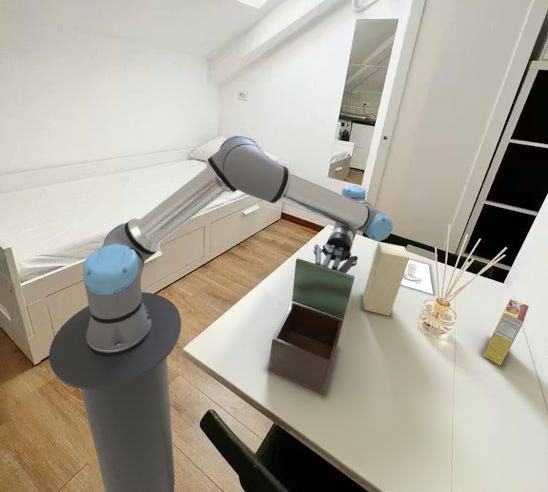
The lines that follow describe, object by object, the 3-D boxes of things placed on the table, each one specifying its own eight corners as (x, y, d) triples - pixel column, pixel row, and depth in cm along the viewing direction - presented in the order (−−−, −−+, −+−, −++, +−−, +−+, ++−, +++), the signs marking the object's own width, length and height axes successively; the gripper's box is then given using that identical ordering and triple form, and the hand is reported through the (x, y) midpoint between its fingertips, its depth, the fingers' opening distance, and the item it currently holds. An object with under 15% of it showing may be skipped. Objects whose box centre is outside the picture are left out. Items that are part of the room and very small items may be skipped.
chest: (324, 395, 64) (332, 364, 60) (268, 369, 68) (272, 339, 65) (336, 348, 76) (343, 320, 72) (287, 329, 80) (292, 301, 76)
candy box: (489, 338, 84) (511, 297, 78) (507, 348, 82) (531, 306, 76) (481, 355, 79) (504, 311, 73) (499, 366, 76) (525, 322, 70)
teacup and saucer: (396, 276, 109) (399, 267, 107) (396, 265, 115) (399, 256, 114) (421, 283, 106) (424, 274, 104) (420, 272, 113) (423, 263, 111)
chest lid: (354, 278, 64) (354, 275, 64) (295, 260, 68) (297, 257, 69) (343, 320, 72) (344, 317, 72) (291, 301, 76) (292, 299, 76)
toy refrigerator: (387, 300, 96) (404, 245, 87) (390, 316, 89) (409, 258, 81) (362, 294, 97) (377, 240, 89) (363, 310, 90) (380, 252, 82)
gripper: (358, 259, 91) (345, 307, 70) (317, 247, 95) (294, 289, 74) (363, 238, 88) (352, 282, 67) (321, 227, 92) (298, 265, 71)
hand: (322, 286), depth 71 cm, fingers closed
